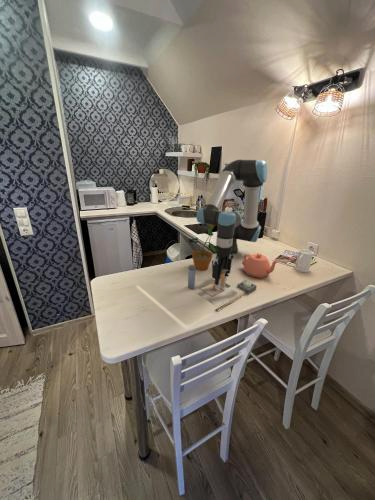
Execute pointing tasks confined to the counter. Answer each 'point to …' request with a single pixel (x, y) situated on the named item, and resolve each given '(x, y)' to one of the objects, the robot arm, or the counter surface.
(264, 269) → the teapot
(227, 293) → the clipboard
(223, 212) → the robot arm
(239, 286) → the button base
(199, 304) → the counter surface
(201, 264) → the potted plant
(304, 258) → the mug
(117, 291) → the counter surface
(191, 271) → the blue marker
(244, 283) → the button
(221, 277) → the orange marker
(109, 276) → the counter surface
